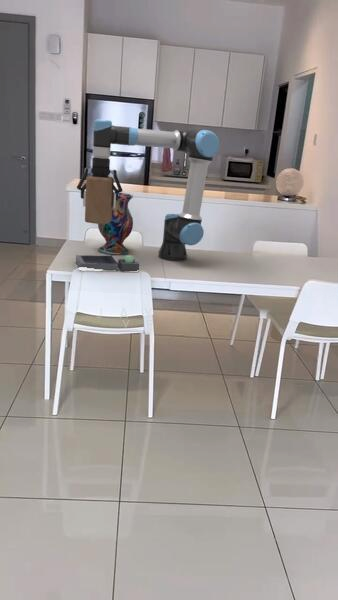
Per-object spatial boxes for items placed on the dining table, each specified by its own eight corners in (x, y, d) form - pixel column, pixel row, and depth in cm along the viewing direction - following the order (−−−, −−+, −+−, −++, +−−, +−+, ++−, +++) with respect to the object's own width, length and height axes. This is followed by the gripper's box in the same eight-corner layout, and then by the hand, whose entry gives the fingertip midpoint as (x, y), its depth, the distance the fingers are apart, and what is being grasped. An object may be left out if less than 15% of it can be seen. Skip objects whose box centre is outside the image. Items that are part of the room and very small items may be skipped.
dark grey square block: (134, 267, 231) (135, 259, 229) (138, 272, 223) (139, 263, 222) (117, 267, 228) (118, 259, 227) (121, 272, 221) (122, 263, 219)
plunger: (131, 265, 228) (132, 255, 226) (133, 267, 224) (134, 257, 222) (123, 265, 226) (123, 254, 225) (125, 267, 223) (125, 257, 221)
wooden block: (105, 225, 214) (107, 178, 207) (84, 222, 215) (85, 176, 209) (112, 221, 223) (114, 177, 217) (91, 219, 224) (93, 174, 218)
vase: (97, 246, 265) (99, 190, 256) (130, 248, 268) (134, 193, 258) (95, 254, 248) (98, 195, 239) (131, 256, 251) (135, 197, 241)
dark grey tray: (111, 262, 235) (111, 255, 234) (117, 271, 222) (118, 263, 221) (75, 262, 229) (75, 255, 228) (80, 271, 216) (80, 263, 215)
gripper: (127, 159, 217) (124, 206, 224) (71, 154, 209) (69, 204, 216) (131, 160, 211) (127, 209, 217) (73, 155, 203) (72, 206, 209)
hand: (99, 206), depth 217 cm, fingers closed on wooden block, 13 cm apart
